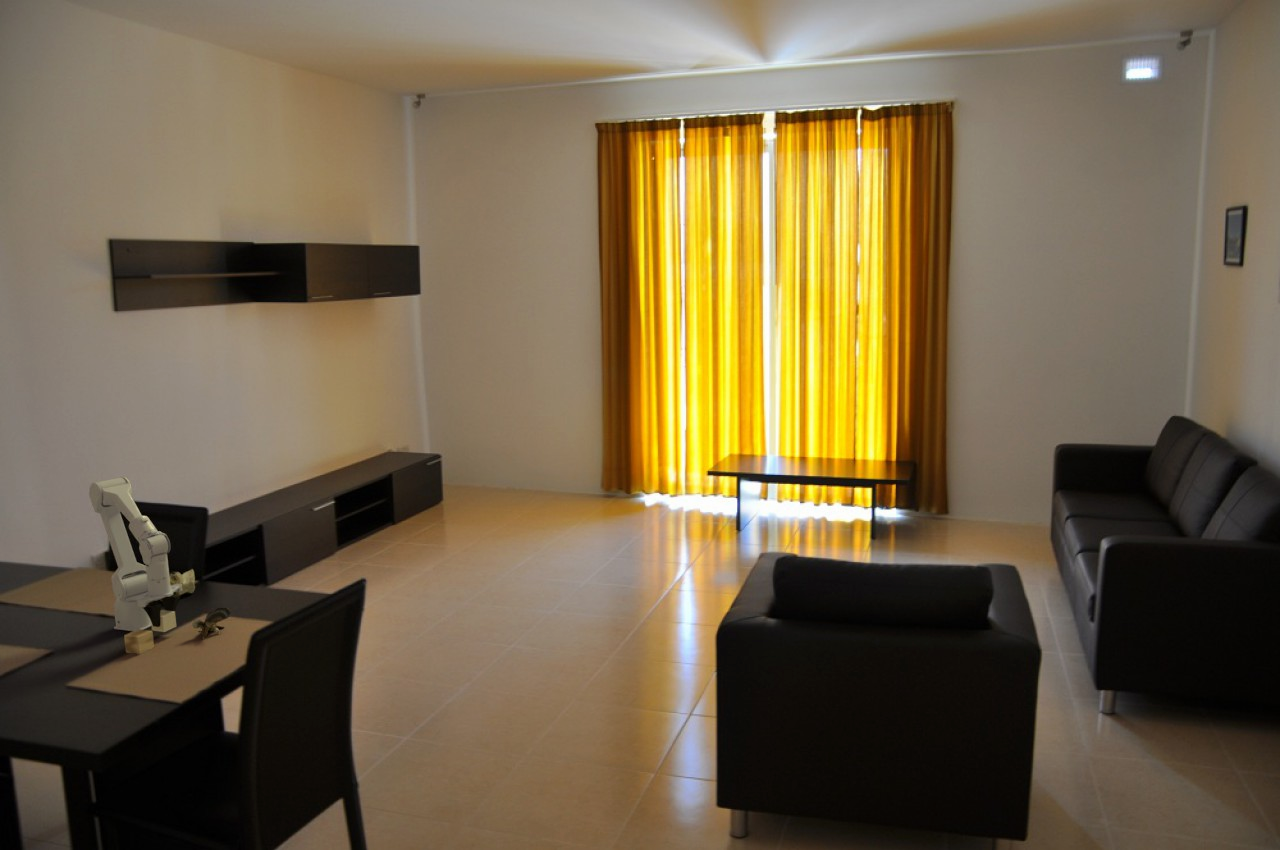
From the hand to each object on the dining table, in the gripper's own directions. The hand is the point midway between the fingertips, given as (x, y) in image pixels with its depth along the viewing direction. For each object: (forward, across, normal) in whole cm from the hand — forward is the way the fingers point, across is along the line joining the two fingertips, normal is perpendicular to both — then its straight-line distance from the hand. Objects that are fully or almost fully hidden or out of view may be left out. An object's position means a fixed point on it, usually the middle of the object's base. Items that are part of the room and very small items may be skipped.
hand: (163, 623), depth 297 cm
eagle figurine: (+4, +6, -12) cm, 14 cm away
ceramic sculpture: (+5, +28, +23) cm, 36 cm away
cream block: (+2, 0, 0) cm, 2 cm away
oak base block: (+4, -10, -1) cm, 11 cm away
